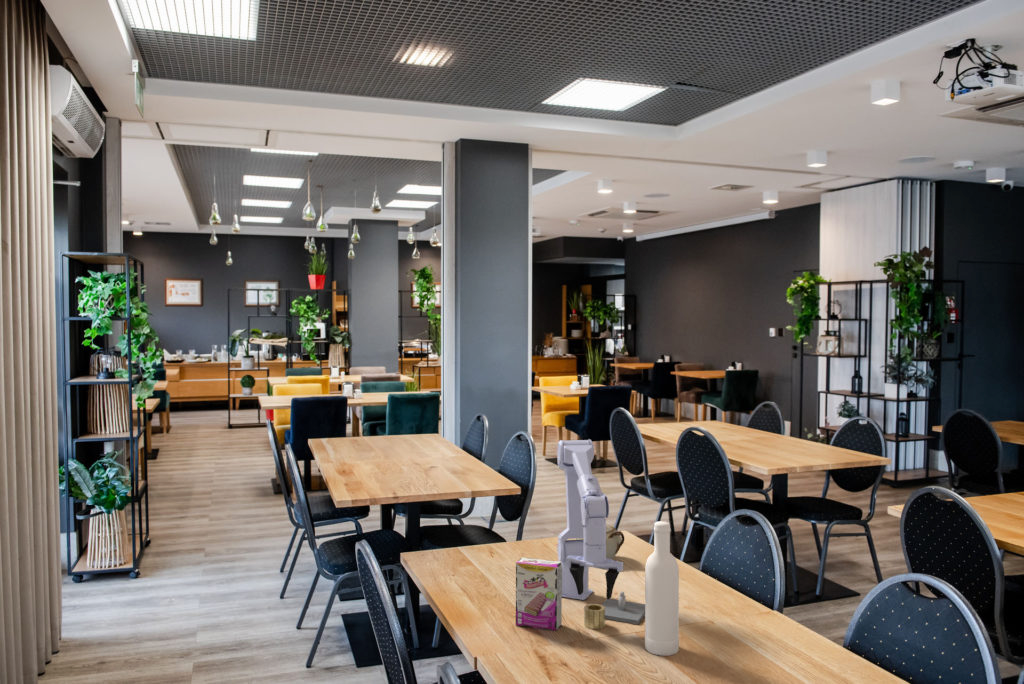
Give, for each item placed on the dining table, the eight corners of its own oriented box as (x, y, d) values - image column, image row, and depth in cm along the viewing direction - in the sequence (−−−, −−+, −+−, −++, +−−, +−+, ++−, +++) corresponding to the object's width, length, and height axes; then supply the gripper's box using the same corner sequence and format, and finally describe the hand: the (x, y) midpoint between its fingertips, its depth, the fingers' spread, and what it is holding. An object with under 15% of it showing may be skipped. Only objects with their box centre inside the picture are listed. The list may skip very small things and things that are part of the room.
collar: (581, 627, 190) (581, 609, 190) (588, 619, 195) (588, 602, 195) (601, 630, 188) (601, 612, 188) (607, 623, 192) (607, 605, 192)
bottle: (685, 654, 174) (685, 525, 174) (654, 658, 172) (654, 528, 171) (668, 640, 182) (668, 517, 181) (639, 644, 180) (639, 520, 179)
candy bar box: (514, 626, 191) (514, 562, 190) (521, 618, 195) (520, 556, 195) (557, 631, 187) (557, 566, 187) (562, 624, 192) (562, 560, 191)
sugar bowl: (560, 559, 246) (560, 513, 246) (587, 549, 257) (587, 505, 257) (610, 572, 233) (610, 524, 233) (636, 560, 244) (636, 515, 244)
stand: (593, 616, 197) (593, 596, 196) (607, 601, 207) (607, 582, 207) (638, 624, 191) (638, 603, 191) (649, 608, 202) (649, 588, 202)
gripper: (562, 543, 190) (562, 596, 190) (617, 550, 184) (617, 605, 184) (572, 536, 197) (572, 587, 197) (625, 542, 190) (625, 595, 191)
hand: (594, 595), depth 191 cm, fingers open, 7 cm apart
